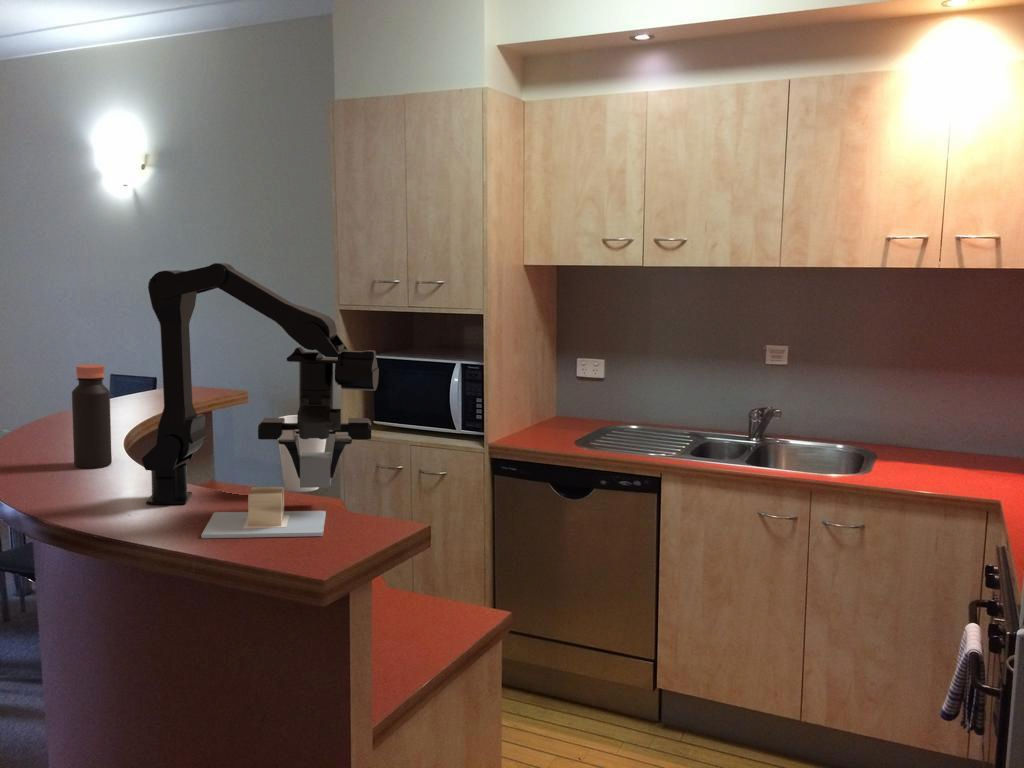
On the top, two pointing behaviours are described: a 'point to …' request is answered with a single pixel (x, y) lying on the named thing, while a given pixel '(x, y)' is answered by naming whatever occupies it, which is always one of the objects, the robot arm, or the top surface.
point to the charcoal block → (315, 469)
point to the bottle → (91, 419)
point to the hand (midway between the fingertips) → (315, 477)
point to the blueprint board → (291, 526)
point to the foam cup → (305, 446)
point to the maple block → (266, 506)
